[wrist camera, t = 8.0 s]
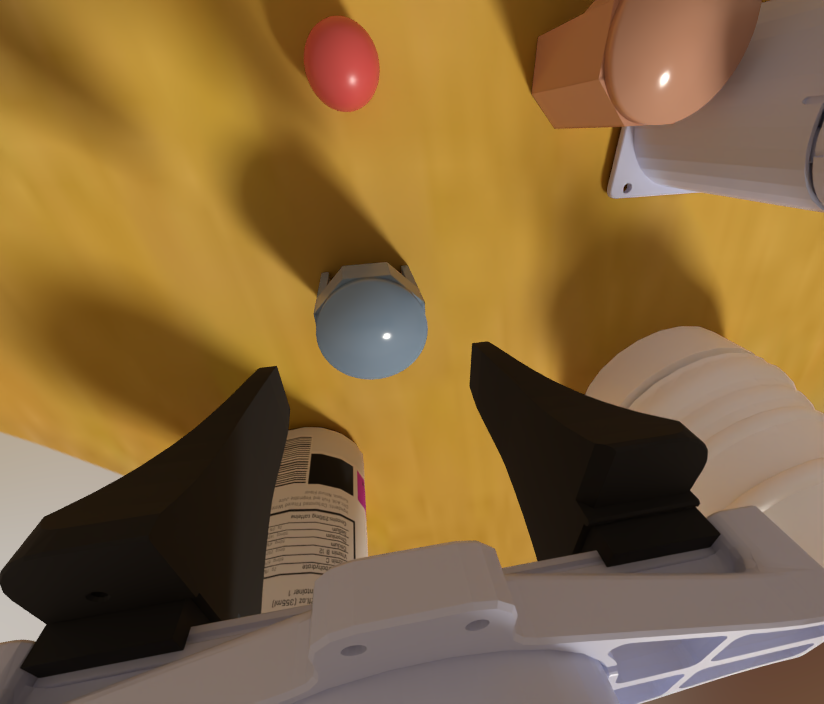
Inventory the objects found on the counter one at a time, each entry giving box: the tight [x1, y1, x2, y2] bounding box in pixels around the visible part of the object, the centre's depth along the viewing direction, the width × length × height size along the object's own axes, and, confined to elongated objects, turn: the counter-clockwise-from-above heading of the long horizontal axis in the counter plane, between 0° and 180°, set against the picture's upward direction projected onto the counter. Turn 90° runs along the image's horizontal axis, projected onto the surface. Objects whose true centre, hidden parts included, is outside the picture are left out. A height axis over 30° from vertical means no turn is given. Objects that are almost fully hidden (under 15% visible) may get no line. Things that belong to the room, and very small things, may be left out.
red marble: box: [304, 16, 379, 112], centre depth 14 cm, size 3×3×3 cm
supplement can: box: [261, 427, 368, 614], centre depth 21 cm, size 8×8×15 cm
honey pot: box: [585, 326, 824, 568], centre depth 22 cm, size 13×13×18 cm
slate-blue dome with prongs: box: [314, 262, 428, 379], centre depth 18 cm, size 5×5×6 cm
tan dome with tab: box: [532, 0, 762, 129], centre depth 14 cm, size 5×5×6 cm
